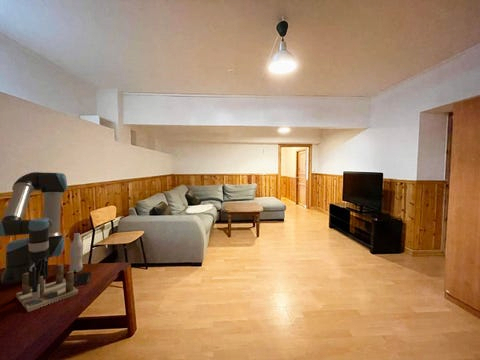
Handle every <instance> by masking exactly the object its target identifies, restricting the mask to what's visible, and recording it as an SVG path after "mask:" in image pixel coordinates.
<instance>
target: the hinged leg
mask: <svg viewBox="0 0 480 360" xmlns="http://www.w3.org/2000/svg"><path fill="white" fill-rule="evenodd" d="M38 284H40V297H49V298H52V297H55V296H57V295H58V292H57V291H53V292H50V293H43V276H42V275H41V276H39V283H38Z"/></svg>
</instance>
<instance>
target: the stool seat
mask: <svg viewBox="0 0 480 360" xmlns="http://www.w3.org/2000/svg"><path fill="white" fill-rule="evenodd" d="M55 269H56V270H55V272H56V273H55V281H54V282H50V283H45V292H43V293H50V292H53V291H57V292H58V295H57V296H55V297H52V298H49V297H39V298H32V286H31V287H29V279H28V273H24V274H23V275H22V282H21V288H22V289H21V291H19V292H16V299H17V300H18V301H19V302H20V303H21V305H22V306H23V307H24V308H25V310H26V312H27V313H29V312H32V311H35V310H38V309H40V307H41V308H43V306H44V307H46V306H49V305H52V304H55V303H57V302H60V301H63V300H65V298H66V299H68V298H71V297H74V296H76V295H78V294H79V289H77V288H76V286H73V283H74V272H75V271H70V270H69V271H67V272H65V278H64V264H63V263H60V264H57V265H56V267H55ZM62 299H63V300H62ZM59 300H60V301H59ZM54 302H55V303H54ZM51 303H52V304H51ZM48 304H49V305H48Z"/></svg>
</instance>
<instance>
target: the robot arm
mask: <svg viewBox="0 0 480 360" xmlns="http://www.w3.org/2000/svg"><path fill="white" fill-rule="evenodd" d="M12 185H13V186H12V193H11V196H10V198H9V201H8V203H7V206H6V208H5V211H4V213H3V216H2V218H1V220H0V237H10V236H20V235H21V236H23V235H24V236H25V235H28V237H23V238H17V239H16V240H15V239H14V240H12V241H10V242H8V243H7V244H6V248H5V269H4V270H3V273H2V275H1V278H0V283H1V284H3V285H14V284H20V283H22V275H23V274H24V273H28V279H29V287H31V289H32V298H39V297H40V284H38V283H39V276H41V275H42V276H43V292H45V285H46V280H47V279H48V277H49V276H48V275H49V259H50V258H55V257H59V256H61V255H62V254H63V251H64V246H65V243H66V237H64V236H63V234H62V233H61V231H60V230H61V229H60V228H61V227H60V226H61V212H62V211H61V207H62V196H63V195H64V194H65V191H68V182H67V176H66V174H64V173H62V172H38V171H36V172H35V171H34V172H29V173H26V174H24V175H22V176H21V177H19V178H17V180H16V181H15V182H14V183H13V184H12ZM34 191H41V192H40V194H41V195H42V196H43V206H42V207H43V208H42V211H43V212H42V217H40V218H33V219H23V218H24V216H25V213H26V209H27V207H28V204H29V200H30V198H31V194H33V193H34Z"/></svg>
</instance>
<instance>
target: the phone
mask: <svg viewBox="0 0 480 360" xmlns="http://www.w3.org/2000/svg"><path fill="white" fill-rule="evenodd" d="M91 275H92V272H84V273H77V274H75V278H74V279H73V287H77V286H76V285H79V286H81V284H84V285H88V284H89V283H90V281H89V280H90V279H91ZM87 283H88V284H87Z"/></svg>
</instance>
